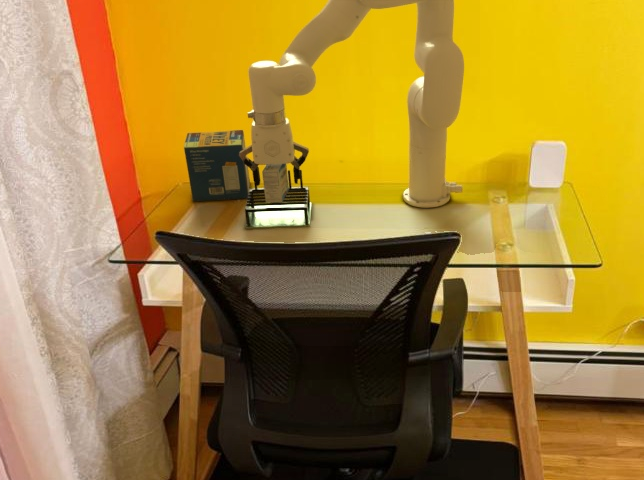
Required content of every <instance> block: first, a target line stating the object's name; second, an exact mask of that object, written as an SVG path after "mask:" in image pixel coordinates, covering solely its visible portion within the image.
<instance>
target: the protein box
mask: <svg viewBox="0 0 644 480" xmlns="http://www.w3.org/2000/svg"><path fill="white" fill-rule="evenodd" d="M245 148H246V141H245V134H244V129H235V130H219V131H202V132H188V133H186V137H185V141H184V145H183V150H184V156H185V162H186V168H187V172H188V173H187V175H188V180H189V186H190V187H189V188H190V193H191V199H192V202H193V203H194V202H208V201H210V202H212V201H229V200H247V198H248V193H249V189H250V187H251V179H250V171H249V167H248V166H247V165H245V164H244V162H243V161H242V159H241V158H240V156H239V152H240V151H242V150H243V149H245Z"/></svg>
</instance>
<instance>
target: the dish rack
mask: <svg viewBox="0 0 644 480" xmlns="http://www.w3.org/2000/svg"><path fill="white" fill-rule="evenodd" d="M287 175H288V185H289V191H288V192H287V194H286V196H285V198H284V200H283V202H282V203H269V202H266V199H265V192H264V187H262V188H261V187H260V188H259V187H258V186H257V185H256V181H254V180H253V183H254V184H253V185H254V188H249V193H248V198H247V199H246V202H245V206H244V215H245V226H244V229H245V230H256V229H257V230H258V229H289V228H309V227H311V216H312V202H311V197H310V187H309V186H304V184H303V183H304V182H303V171H302V169H300V179H299V183H300V186H292V178H291V176H292V175H291V170H290V169H287Z"/></svg>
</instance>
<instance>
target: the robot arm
mask: <svg viewBox="0 0 644 480" xmlns="http://www.w3.org/2000/svg"><path fill="white" fill-rule="evenodd" d="M413 4H416V8H417V11H416V12H417V14H416V15H417V16H416V21H417V22H416V33H415V44H414V61H415V63H416V65H417V67H418V68H419V70H420V71H422V73H423V76H420V77H418V78H416V79H415V80H414V81H413V82H412V83H411V85H410V87H409V89H408V92H407V99H406V103H407V114H408V128H409V129H408V131H409V134H408V135H409V137H408V139H409V140H408V141H409V143H408V188H406V189H405V190H404V191H403V193H402V199H403V201H404V202H405V203H406V204H407V205H409V206H412V207H415V208H416V207H417V208H423V209H424V208H426V209H429V208H437V207H438V208H439V207H441V206H443V205H445V204H447V203H448V202H449V201H450V200H451V193H455V194H456V193H459V194H460V193H463V185H462V184H457V182H454V181H453V182H448V181H447V180H446V164H447V163H446V162H447V161H446V160H447V143H448V142H447V141H448V140H447V139H448V131H447V130H448V128H449V127H451V126H452V125H453V124H454V122H455V121H456V119H457V118H458V116H459V113H460V109H461V101H462V94H463V93H462V92H463V84H464V76H465V60H464V55H463V52H462V50H461V49H460V46H458V45H457V43H455V42H454V40H453V39H454V37H453V35H454V34H453V33H454V20H455V19H454V18H455V17H454V16H455V0H328V1H326V3H325V5H324V7H323V8H321V10H320V12H319V13H318V14H316V15H314V17H313V18H312V19H311V20H310V21H309V22H308V23H307V24H306V25H305V26H303V28H302V29H301V30H300V31H299V32H298V33H297V34H296V36H294V38H293V40H292V41H291V42H290V44H289V45H288V47H287V48H286V49H285V51H284V52H283V54H282V56H281V57H280V59H279V62H278V63H277V62H276V61H274V60H260V61H256V62H253V63H252V64H251V65H250V66H249V67H248V79H249V89H250V95H251V103H252V104H251V105H252V110H251V111H249V112H247V119H252V123H251V129H250V132H251V133H250V134H251V135H250V136H251V139H250V140H251V144H250V145H249V146H246V147H245V149H243V150H242V151H240V152H239V156H240V158H241V159H242V161H243V162H244V164H245V165H247V166H248V169H250V171H252V178H253V179H252V180H253V182H254V181H256V185H257V187H259V186H260V185H261V173H260V167H259V166H266V165H272V164H286V165H287V164H291V165H292V166H293V167H292V172H293V182H294V184H295V185H298V183H299V180H300V170H301V169H300V167H301V166H302V165H303V164H304V163H305V162H306V160H307V157H308V155H309V153H310V149H309V147H306V146H304V145H302V144H300V143H298V142H295V141H294V136H293V132H292V126H291V124H290V120H289V119H288V117H286V106H285V97H284V96H293V97H301V96H306V95H308V94H309V93H311V92H312V91H314V88H315V86H316V84H317V77H316V73H315V70H314V69H313V66H314V65H315V63H316V62H317V61H318V59H319V58H320V57H321V55H322V54H323V53H325V51H326V50H327V49H328V48H330V47H332V46H333V45H335V44H337V43H340V42H344V41H346V40H348V39H349V38H350V37H351V36H352V35H353V33H354V32H355V31H356V29H357V28H358V27H359V25H360V24H361V23H362V22H363V20H364V19H365V18H366V16H367V15H368V13H369V12H370V11H371V10H372V9H373V10H382V9H383V10H384V9H391V8H397V7H402V6H403V7H404V6H407V5H413ZM295 151H296V152H300V153H301V155H300V156H299V158H297V156H296V153H295ZM251 153H252V159H253V160H251V158H249V157H248V155H249V154H251Z"/></svg>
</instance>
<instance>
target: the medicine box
mask: <svg viewBox="0 0 644 480" xmlns="http://www.w3.org/2000/svg"><path fill="white" fill-rule="evenodd" d="M264 166H265V167H264V168H263V170H262V171H261V173H262V174H261V175H262V182H263V188H264V192H265V199H266V202H269V203H282V202H283V200H284V198H285V196H286V194H287V192H288V191H289V180H288V165H287V164H272V165H264Z"/></svg>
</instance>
